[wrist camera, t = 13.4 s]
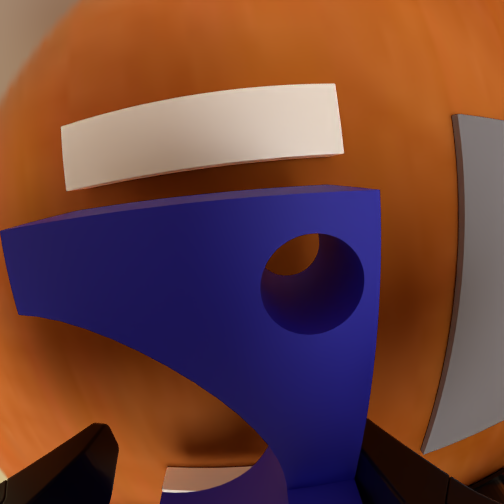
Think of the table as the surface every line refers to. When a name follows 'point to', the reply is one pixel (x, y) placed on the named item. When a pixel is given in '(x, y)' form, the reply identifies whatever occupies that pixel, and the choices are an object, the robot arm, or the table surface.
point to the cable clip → (231, 316)
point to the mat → (475, 291)
